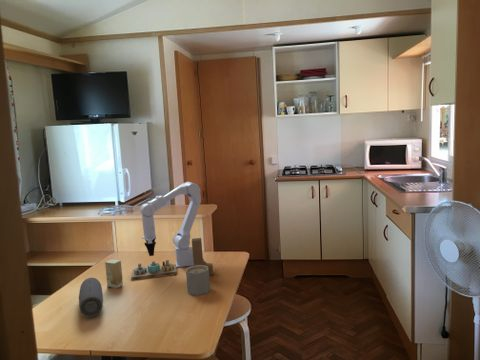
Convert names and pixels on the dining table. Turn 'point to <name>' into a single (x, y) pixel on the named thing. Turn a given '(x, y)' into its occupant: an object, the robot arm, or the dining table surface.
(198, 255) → the wooden block
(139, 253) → the dining table surface
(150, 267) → the teal gear
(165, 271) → the gear board
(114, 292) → the dining table surface
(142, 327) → the dining table surface
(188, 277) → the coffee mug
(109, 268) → the skincare box
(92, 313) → the bluetooth speaker
